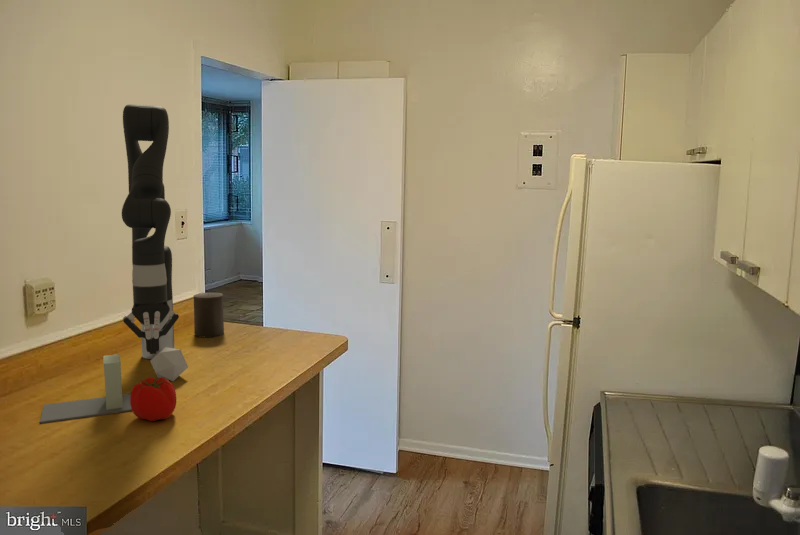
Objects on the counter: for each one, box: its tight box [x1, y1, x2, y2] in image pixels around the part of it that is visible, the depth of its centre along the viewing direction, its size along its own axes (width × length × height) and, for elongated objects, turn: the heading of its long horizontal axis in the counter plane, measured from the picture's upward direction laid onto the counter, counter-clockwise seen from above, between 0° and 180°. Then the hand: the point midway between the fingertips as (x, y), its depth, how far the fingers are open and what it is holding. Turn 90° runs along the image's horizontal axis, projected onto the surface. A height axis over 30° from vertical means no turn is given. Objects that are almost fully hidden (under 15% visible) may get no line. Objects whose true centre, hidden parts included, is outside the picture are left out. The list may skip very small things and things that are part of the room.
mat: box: [39, 393, 133, 424], centre depth 146 cm, size 11×20×1 cm, turn 116°
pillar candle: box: [193, 290, 225, 338], centre depth 213 cm, size 10×10×15 cm
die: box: [150, 347, 189, 382], centre depth 168 cm, size 8×9×10 cm
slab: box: [102, 353, 123, 410], centre depth 148 cm, size 7×4×11 cm, turn 26°
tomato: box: [130, 377, 177, 422], centre depth 141 cm, size 11×11×9 cm
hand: (152, 353), depth 150 cm, fingers closed
